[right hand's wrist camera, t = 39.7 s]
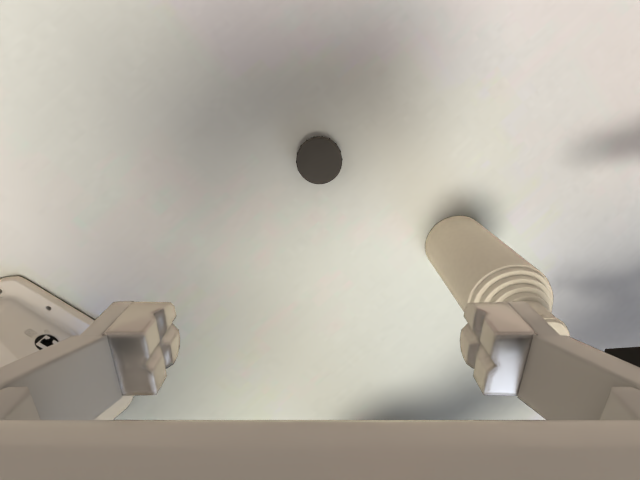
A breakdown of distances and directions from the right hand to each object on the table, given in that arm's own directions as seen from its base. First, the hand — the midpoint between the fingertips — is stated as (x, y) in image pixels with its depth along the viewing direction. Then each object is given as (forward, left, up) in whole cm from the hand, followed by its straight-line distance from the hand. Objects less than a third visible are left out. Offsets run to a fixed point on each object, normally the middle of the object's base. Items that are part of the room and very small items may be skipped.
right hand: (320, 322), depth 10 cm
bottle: (+17, +6, -28) cm, 33 cm away
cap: (0, 0, -27) cm, 27 cm away
